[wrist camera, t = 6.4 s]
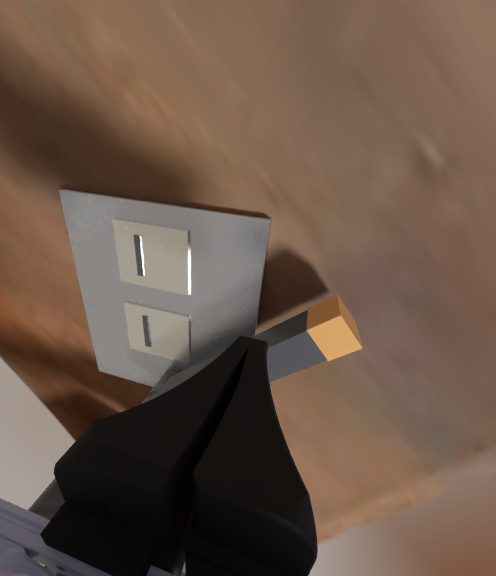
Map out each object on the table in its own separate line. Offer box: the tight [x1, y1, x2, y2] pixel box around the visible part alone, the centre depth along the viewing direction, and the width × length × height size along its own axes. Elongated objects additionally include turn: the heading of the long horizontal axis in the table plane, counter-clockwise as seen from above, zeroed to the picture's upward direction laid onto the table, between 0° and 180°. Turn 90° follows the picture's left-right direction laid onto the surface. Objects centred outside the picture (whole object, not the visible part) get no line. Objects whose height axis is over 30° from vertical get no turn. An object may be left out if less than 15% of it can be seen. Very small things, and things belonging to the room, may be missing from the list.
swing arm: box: [156, 295, 362, 397], centre depth 18 cm, size 16×2×2 cm, turn 127°
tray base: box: [59, 189, 271, 404], centre depth 19 cm, size 18×16×5 cm
